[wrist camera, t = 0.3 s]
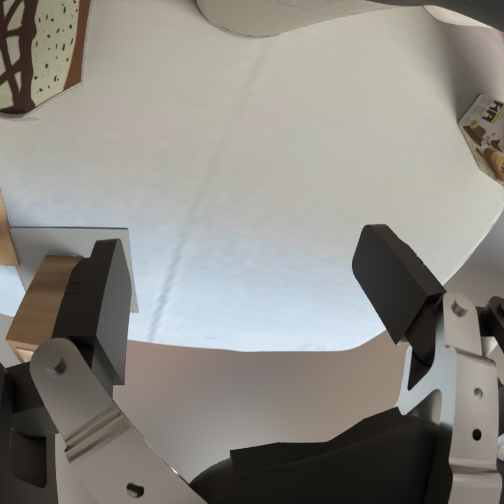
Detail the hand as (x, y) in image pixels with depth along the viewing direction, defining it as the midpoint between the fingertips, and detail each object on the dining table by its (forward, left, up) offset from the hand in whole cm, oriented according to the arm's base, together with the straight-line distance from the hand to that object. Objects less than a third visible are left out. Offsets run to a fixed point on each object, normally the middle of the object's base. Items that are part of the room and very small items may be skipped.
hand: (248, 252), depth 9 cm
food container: (-9, -15, -18) cm, 25 cm away
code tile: (+16, -16, -17) cm, 29 cm away
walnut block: (+16, -16, -17) cm, 29 cm away
